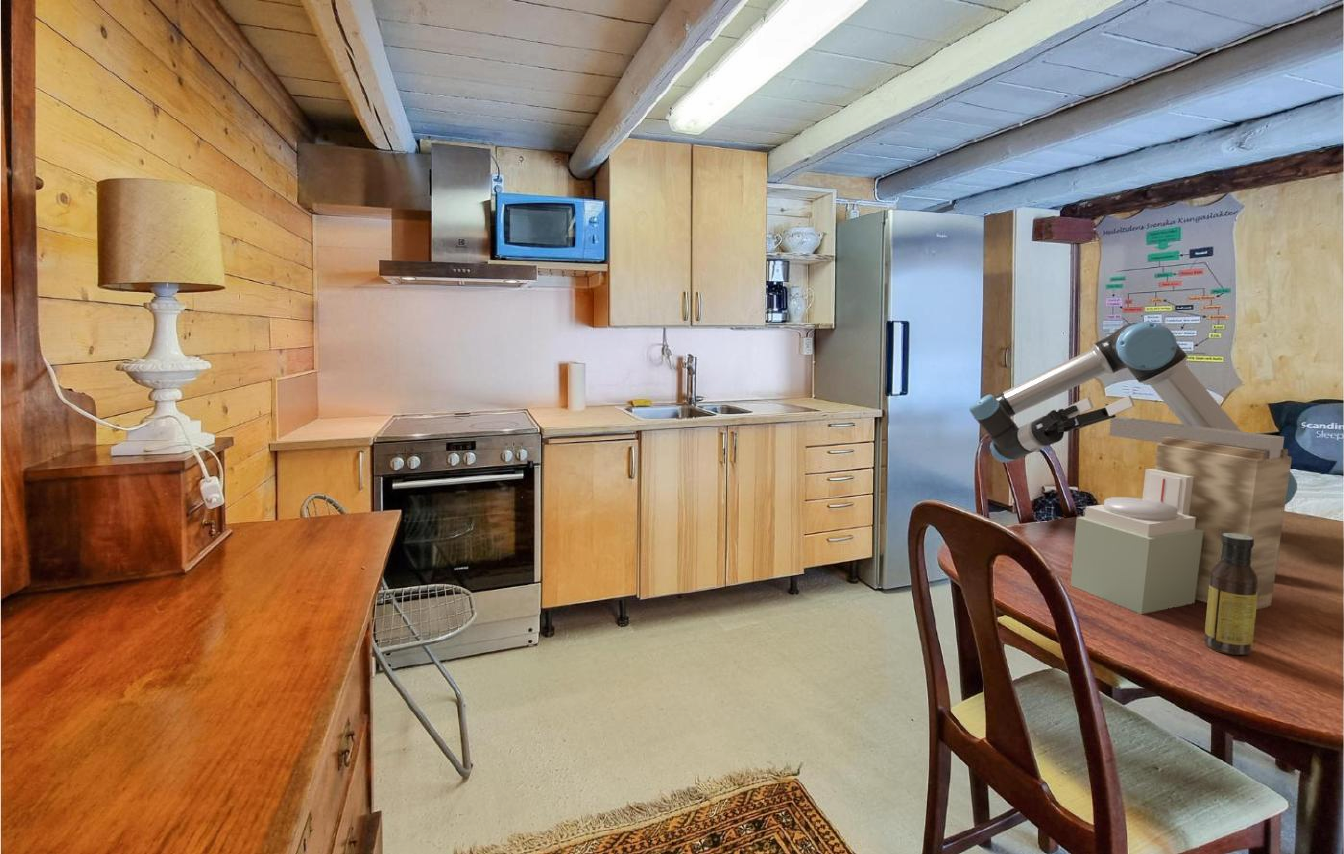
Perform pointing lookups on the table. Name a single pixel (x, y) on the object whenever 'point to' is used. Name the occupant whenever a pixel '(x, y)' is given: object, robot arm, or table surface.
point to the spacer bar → (1195, 435)
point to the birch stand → (1232, 503)
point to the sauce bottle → (1232, 598)
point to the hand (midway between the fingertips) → (1111, 401)
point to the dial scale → (1150, 506)
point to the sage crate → (1136, 566)
